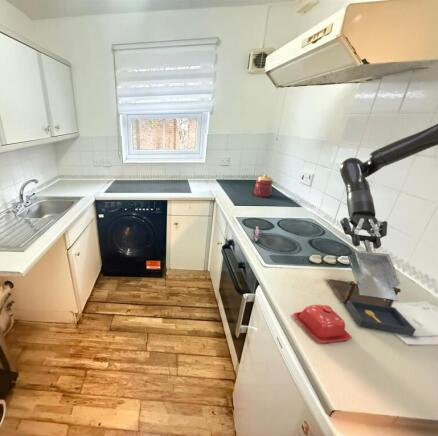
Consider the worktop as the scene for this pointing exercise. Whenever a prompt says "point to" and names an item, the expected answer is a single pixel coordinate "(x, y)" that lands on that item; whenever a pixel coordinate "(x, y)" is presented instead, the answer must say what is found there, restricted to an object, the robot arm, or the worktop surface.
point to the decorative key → (256, 233)
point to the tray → (380, 318)
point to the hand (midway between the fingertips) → (367, 246)
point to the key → (371, 315)
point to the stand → (356, 293)
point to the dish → (373, 272)
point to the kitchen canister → (263, 186)
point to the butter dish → (323, 323)
